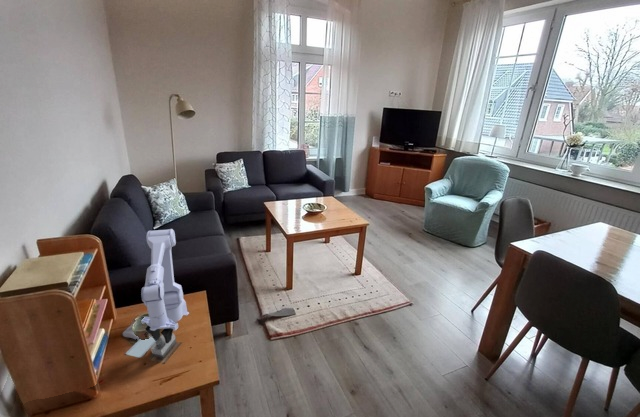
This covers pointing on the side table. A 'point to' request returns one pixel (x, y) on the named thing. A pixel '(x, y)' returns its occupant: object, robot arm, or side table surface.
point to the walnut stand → (166, 355)
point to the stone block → (130, 333)
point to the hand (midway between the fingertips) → (163, 340)
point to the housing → (162, 347)
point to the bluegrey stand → (140, 347)
